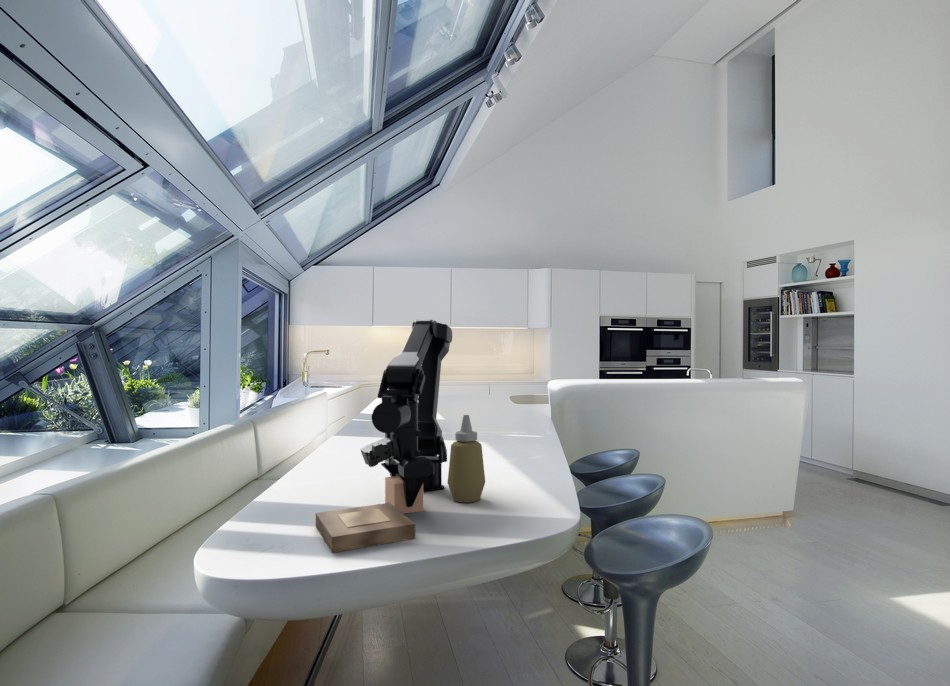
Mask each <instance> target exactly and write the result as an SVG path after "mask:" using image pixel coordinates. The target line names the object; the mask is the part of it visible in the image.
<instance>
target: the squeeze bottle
mask: <svg viewBox="0 0 950 686" xmlns="http://www.w3.org/2000/svg"><path fill="white" fill-rule="evenodd" d="M454 437H455V438H454V439H455V441H454V442H453V443H452V444H451V445H450V455H449V462H448V463H449V465H448V474H447V485H448V489H449V491H450V495H451V497H452V500H453V501H455V502H459V503H465V502H466V503H474V502H478V501H480V499H481V498H482V494H483V491H484V488H485V484H486V476H485V466H484V457H483V455H484V454H483V448H482V443H480V441H477V440H478V432H477V431H474V430H473V427H472V423H471V419H470V415H469V414H463V416H462V420H461V425H460V431H455V436H454Z"/></svg>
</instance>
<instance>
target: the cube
mask: <svg viewBox="0 0 950 686" xmlns="http://www.w3.org/2000/svg"><path fill="white" fill-rule="evenodd" d="M384 486H385V487H384V489H385V490H384V494H385V497H384V501H385V503H391V504H392V505H393V506H394V507H395V508H397V509H398V510H399V511H400V512H401V513H403V514H404V515H405V514H408V513H409V514H410V513H417V512H423V511H424V491H423V484H422V486H421V488H420V490H419V493H418V495H417V497H416V499H415V502H414V504H413V506H412V507H407V506H406V500H405V494H404V487H403V481H402V480H401V479H400V478H399V477H398V476H393V477H390V476H387V477H384Z"/></svg>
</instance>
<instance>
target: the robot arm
mask: <svg viewBox="0 0 950 686" xmlns="http://www.w3.org/2000/svg"><path fill="white" fill-rule="evenodd" d="M452 342H453V330H452V328H451V327H450V326H449V325H448V324H446V323H441V322H438V321H436V320H433V319H416V320H414V321H412V326H411V331H410V333H409V336H408V338H407V339H406V342H405V344H404V347H403V349H402V350H401V353H400V354H399V355H397V356H395V357H393V358H392V359H391V360H390V361H389V362H388V364H387V366H386V368H385V369H384V370H383V373H382V377H381V382H380V385H379V388H378V394H377V398H378V399H381V403H379V404H378V405H376V406H375V408H374V409H373V412H372V414H371V423H372V424H373V426H374V428H375V430H377V431H379V432H381V433H383V434H385V435H384V437H383V438H381V439H377V440H375V441H374V442H371V443H369V444H367V445H365V446H363V447H361V448H360V452H361V455H362V457H363V461H364V463H365V465H367V466H368V467H370V468H373V467H375V466H378V464H379V463H380V465H381V467H383V468H384V469H385V470H386V471H388V473H389V477H393V476H398V477H399V478H400V479H401V480H402V481H403V487H404V494H405V500H406V506H407V507H412V506H413V504H414V502H415V499H416V497H417V495H418V493H419V490H420V488H421V486H422V484H423V492H427V491H435V490H441V489H442V490H443V489H445V485H443V483H442V478H443V477H442V474H443V473H442V464H443V463H447V462H448V450H447V447H446V443H445V440H444V437H443V431H442V428H441V427H440V426H441V425H439V422H438V420H437V414H438V404H439V391H440V379H441V368H442V361H443V360H444V358H445V357H446V355H447V354H448V353H449V352H450V346H451V344H452Z"/></svg>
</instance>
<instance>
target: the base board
mask: <svg viewBox="0 0 950 686" xmlns="http://www.w3.org/2000/svg"><path fill="white" fill-rule="evenodd" d="M315 529H317V532H318V533H319V534H320V536H321V538H322V540H324V542H325V544H326V545H327V547H328V548H329V550H330V552H331V554H332V553H340V552H345V551H349V550H350V551H351V550H356V549H357V550H358V549H361V548H367V547H373V545H374V546H378V544H380V545H385V544H384V543H386V544H391V543H395V542H402V541H407V540H414V539H416V525H415V522H413V521H412V520H411V519H410V518H409V517H408V516H407V515H405V513H404V514H403V513H401V512H400V511H399V510H398V509H397V508H395V507H394V506H393V505H392V504H391V503H378V504H370V505H363V506H356V507H348V508H343V509H342V508H341V509H333V510H327V511H321V512H315ZM390 542H391V543H390Z"/></svg>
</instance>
